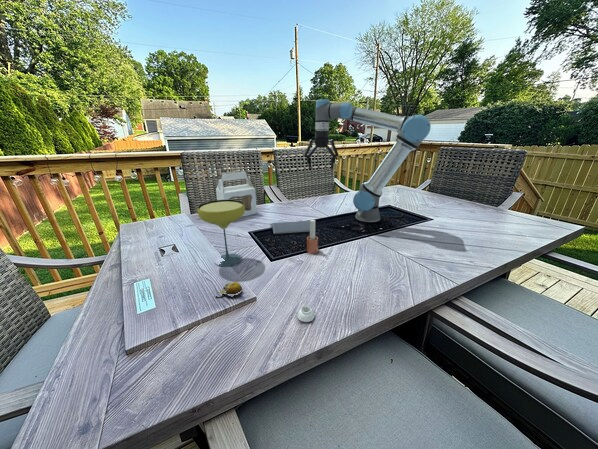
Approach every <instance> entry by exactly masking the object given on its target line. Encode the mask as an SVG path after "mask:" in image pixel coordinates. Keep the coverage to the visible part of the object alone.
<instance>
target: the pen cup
mask: <svg viewBox="0 0 598 449" xmlns="http://www.w3.org/2000/svg"><path fill="white" fill-rule="evenodd" d="M306 252H307V253H308V254H317V253H319V237H318V236H316V235H315V240H310V235H308V236H307V237H306Z"/></svg>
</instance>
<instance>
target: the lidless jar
mask: <svg viewBox="0 0 598 449" xmlns="http://www.w3.org/2000/svg"><path fill="white" fill-rule="evenodd" d="M297 319H298V320H299V321H300V322H303V323H309V322H312V321H313V320H314V319H315V313H314V311H313V309H312V308H311V307H310V306H308V305H303V306H301V308H300V309H299V310H298V312H297Z"/></svg>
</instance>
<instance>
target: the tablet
mask: <svg viewBox="0 0 598 449" xmlns="http://www.w3.org/2000/svg"><path fill="white" fill-rule="evenodd" d="M271 227H272V233H273V234H272V235H273V236H285V235H299V234H310V220H298V221H297V220H296V221H282V222H281V221H279V222H271Z"/></svg>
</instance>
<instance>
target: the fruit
mask: <svg viewBox="0 0 598 449" xmlns="http://www.w3.org/2000/svg"><path fill="white" fill-rule="evenodd" d="M241 290H242V291H243V286H242V285H241V284H240V283H239V282H237V281H233V282H228V283H226V284H225V285H224V286H223V289H221V290H220V291H219V292H218V293H217V294H224V293H225V291H226V293H227V294H236V293H238V292H240V291H241ZM240 294H241V293H240ZM240 294H238V295H234V296H233V297H234V298H233V297H232V298H231V299H235V298H238V297H239V296H240Z"/></svg>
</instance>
